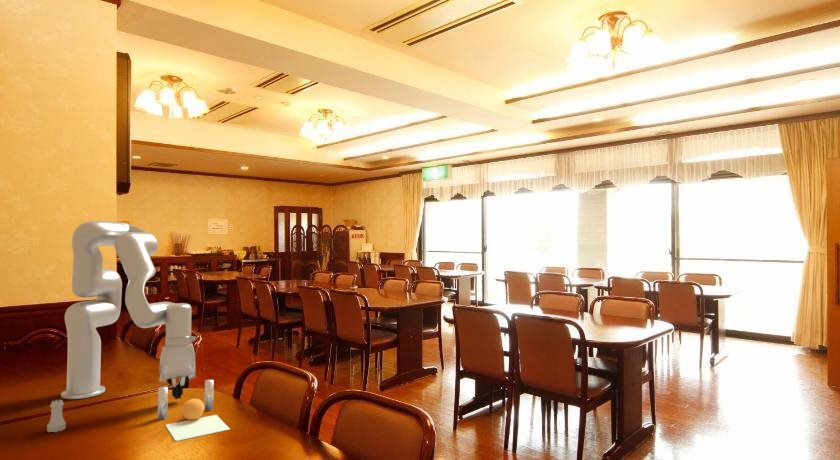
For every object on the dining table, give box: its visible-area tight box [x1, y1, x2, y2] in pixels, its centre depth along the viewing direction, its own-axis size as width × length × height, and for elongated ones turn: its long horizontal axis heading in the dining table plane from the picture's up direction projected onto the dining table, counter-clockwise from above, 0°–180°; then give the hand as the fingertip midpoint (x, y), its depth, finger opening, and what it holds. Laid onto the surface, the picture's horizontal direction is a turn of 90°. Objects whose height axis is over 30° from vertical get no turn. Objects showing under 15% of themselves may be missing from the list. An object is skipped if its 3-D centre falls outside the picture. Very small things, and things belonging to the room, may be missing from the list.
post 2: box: [203, 378, 215, 412], centre depth 156 cm, size 3×3×9 cm
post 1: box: [157, 386, 169, 420], centre depth 148 cm, size 3×3×9 cm
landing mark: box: [164, 414, 231, 442], centre depth 140 cm, size 14×14×1 cm
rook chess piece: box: [46, 399, 67, 433], centre depth 138 cm, size 4×4×8 cm
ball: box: [181, 398, 205, 420], centre depth 147 cm, size 6×6×6 cm
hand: (177, 397), depth 162 cm, fingers closed
